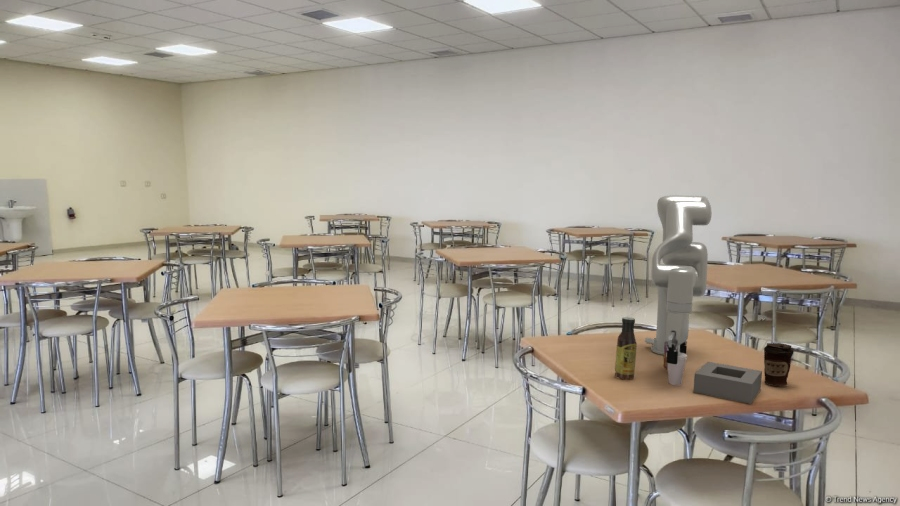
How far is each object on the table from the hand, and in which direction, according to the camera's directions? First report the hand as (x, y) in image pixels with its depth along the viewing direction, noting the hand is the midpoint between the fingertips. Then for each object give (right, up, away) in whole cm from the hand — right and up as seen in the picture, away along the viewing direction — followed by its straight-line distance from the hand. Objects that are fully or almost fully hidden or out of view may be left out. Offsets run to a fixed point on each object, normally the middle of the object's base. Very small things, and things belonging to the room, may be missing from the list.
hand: (676, 360), depth 190 cm
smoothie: (0, -8, +1) cm, 8 cm away
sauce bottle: (-14, -7, +7) cm, 17 cm away
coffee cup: (+33, -8, +2) cm, 34 cm away
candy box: (+4, -6, +15) cm, 17 cm away
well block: (+14, -9, -5) cm, 17 cm away
